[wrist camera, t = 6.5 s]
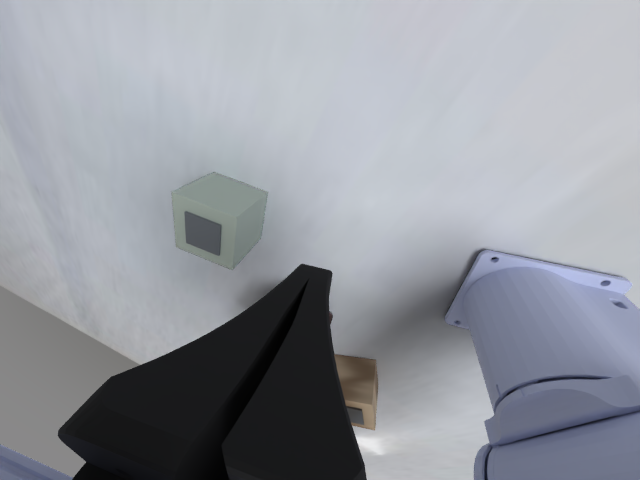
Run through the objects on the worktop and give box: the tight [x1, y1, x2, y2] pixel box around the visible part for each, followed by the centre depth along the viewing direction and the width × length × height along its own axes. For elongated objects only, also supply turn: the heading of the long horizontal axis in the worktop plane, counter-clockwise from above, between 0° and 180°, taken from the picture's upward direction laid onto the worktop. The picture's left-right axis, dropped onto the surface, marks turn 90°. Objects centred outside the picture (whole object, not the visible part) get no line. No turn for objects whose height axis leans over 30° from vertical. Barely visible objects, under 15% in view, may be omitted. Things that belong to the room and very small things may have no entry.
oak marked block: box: [334, 354, 378, 430], centre depth 29 cm, size 5×5×5 cm
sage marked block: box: [172, 172, 268, 270], centre depth 21 cm, size 5×5×5 cm
